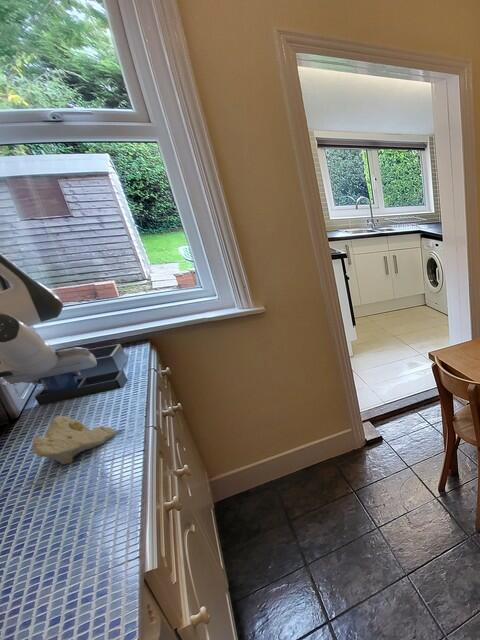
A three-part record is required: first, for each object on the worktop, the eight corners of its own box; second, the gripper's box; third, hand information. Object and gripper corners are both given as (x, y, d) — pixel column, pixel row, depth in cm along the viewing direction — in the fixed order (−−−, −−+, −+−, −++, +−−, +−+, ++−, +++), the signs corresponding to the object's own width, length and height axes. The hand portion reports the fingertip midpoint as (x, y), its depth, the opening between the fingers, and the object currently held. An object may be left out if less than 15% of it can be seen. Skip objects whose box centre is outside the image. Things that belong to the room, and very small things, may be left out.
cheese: (94, 442, 102) (6, 435, 89) (111, 418, 102) (26, 407, 89) (112, 481, 95) (19, 480, 82) (130, 456, 95) (40, 450, 82)
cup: (48, 404, 118) (28, 370, 113) (55, 395, 123) (36, 362, 119) (79, 397, 121) (61, 363, 117) (85, 389, 126) (68, 356, 122)
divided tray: (40, 407, 116) (34, 396, 115) (51, 395, 123) (45, 385, 122) (122, 390, 125) (117, 379, 123) (127, 379, 132) (122, 369, 131)
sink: (61, 384, 131) (51, 367, 128) (74, 369, 142) (65, 353, 139) (120, 372, 138) (112, 355, 135) (127, 359, 149) (120, 343, 146)
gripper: (82, 337, 115) (102, 359, 126) (-27, 356, 104) (5, 379, 115) (88, 356, 114) (107, 376, 125) (-23, 378, 103) (9, 398, 114)
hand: (57, 378), depth 120 cm, fingers closed on cup, 7 cm apart
